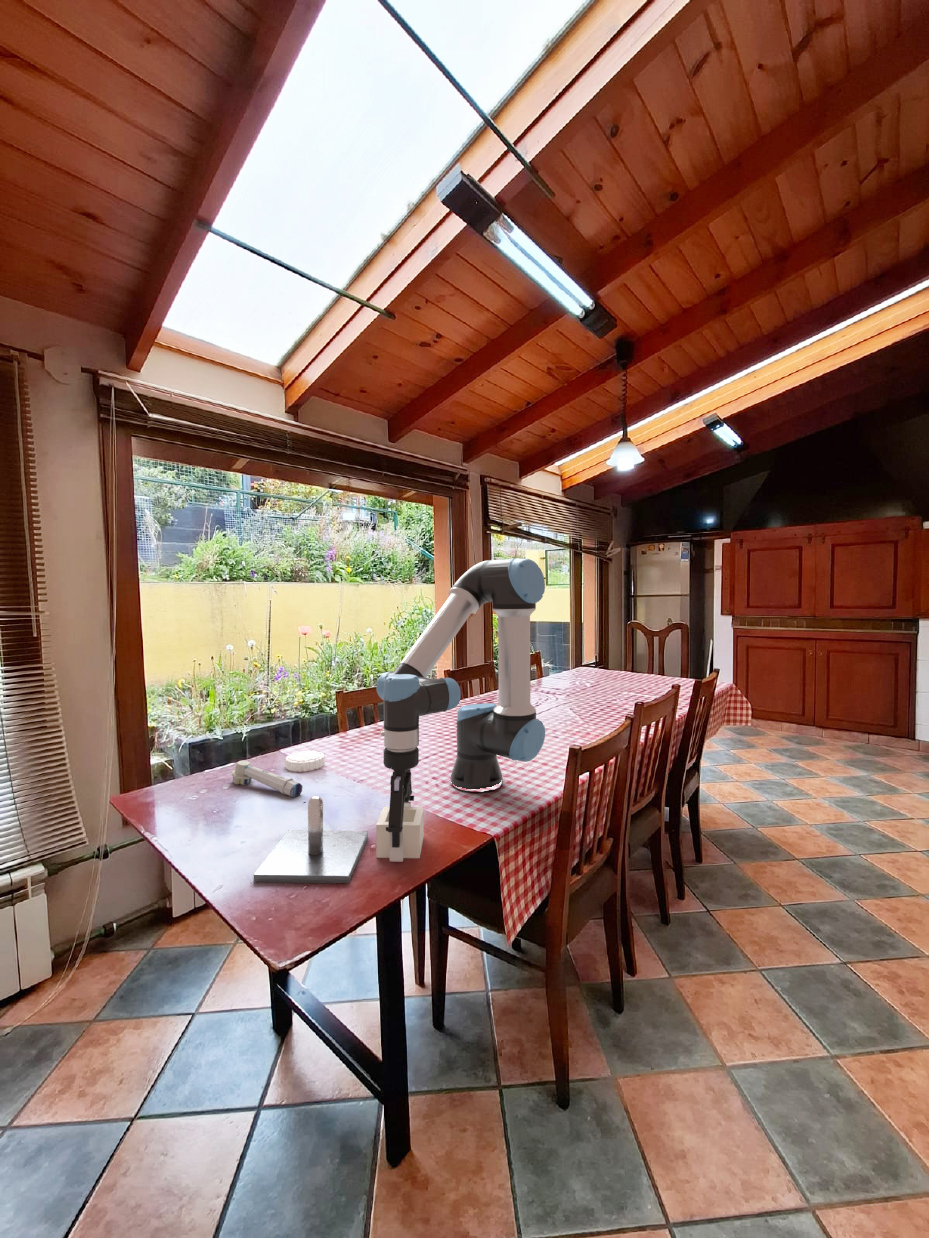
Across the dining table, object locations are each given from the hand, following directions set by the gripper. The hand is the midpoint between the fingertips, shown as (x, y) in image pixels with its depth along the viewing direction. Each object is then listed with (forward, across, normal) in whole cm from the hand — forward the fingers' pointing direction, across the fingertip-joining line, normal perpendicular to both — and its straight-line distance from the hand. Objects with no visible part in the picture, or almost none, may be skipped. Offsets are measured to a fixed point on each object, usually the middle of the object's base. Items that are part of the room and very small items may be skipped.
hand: (400, 844), depth 108 cm
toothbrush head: (+1, -33, -43) cm, 54 cm away
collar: (+1, 0, 0) cm, 1 cm away
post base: (+1, +5, -17) cm, 18 cm away
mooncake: (+1, -52, -38) cm, 64 cm away
